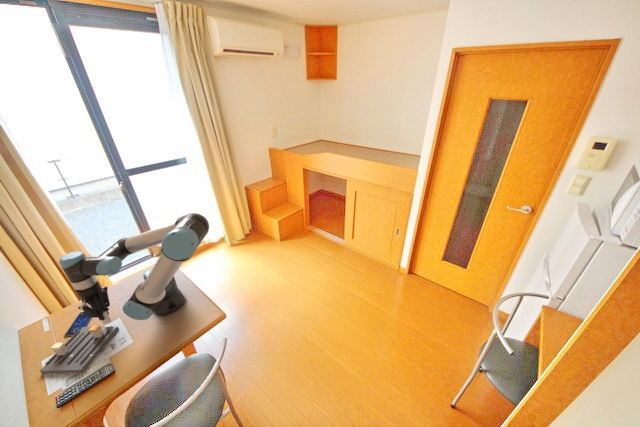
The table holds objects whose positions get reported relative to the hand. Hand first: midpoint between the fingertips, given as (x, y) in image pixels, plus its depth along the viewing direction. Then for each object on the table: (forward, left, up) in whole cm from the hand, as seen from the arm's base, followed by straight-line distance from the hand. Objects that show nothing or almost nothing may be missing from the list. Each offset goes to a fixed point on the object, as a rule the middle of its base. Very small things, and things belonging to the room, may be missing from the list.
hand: (107, 322), depth 113 cm
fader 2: (0, +6, -2) cm, 6 cm away
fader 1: (+8, +14, -2) cm, 16 cm away
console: (+3, +11, -4) cm, 12 cm away
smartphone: (+16, -3, -4) cm, 17 cm away
